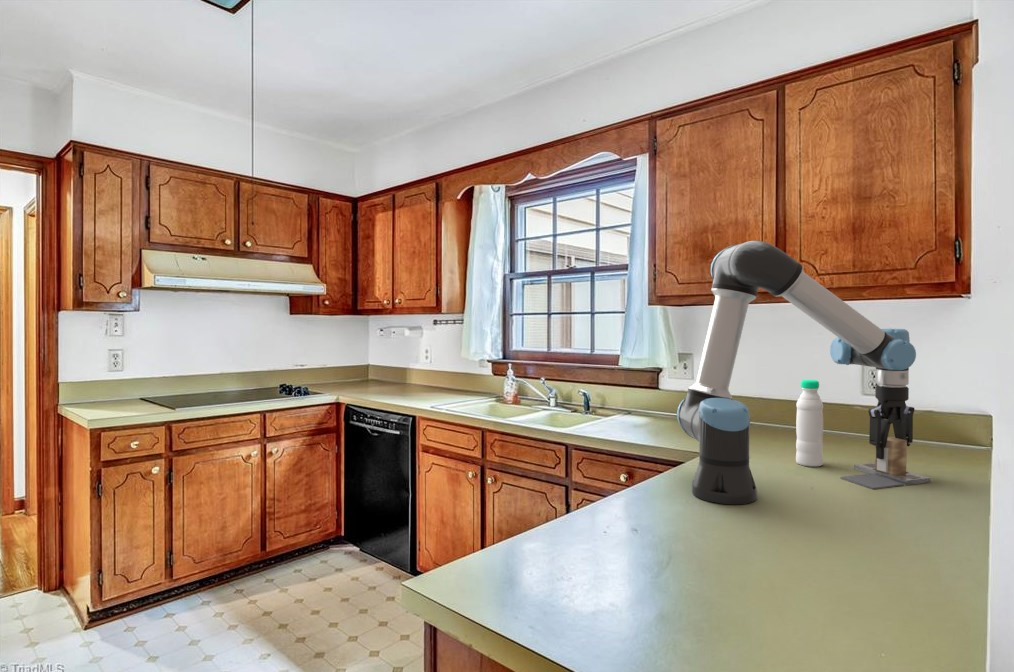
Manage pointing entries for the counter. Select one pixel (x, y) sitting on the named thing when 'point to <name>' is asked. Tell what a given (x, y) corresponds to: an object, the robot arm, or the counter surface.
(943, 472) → the counter surface
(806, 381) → the white bottle
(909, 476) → the plate with rectangular hole
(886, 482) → the mat
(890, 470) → the peg
